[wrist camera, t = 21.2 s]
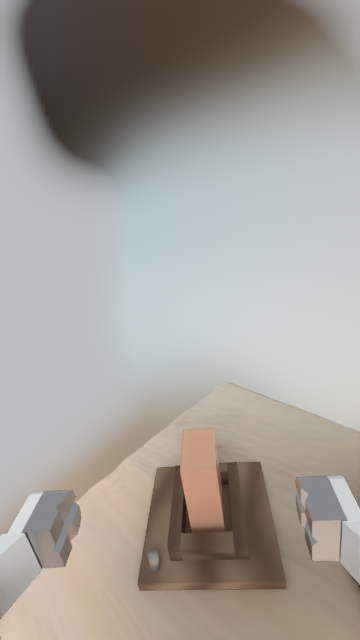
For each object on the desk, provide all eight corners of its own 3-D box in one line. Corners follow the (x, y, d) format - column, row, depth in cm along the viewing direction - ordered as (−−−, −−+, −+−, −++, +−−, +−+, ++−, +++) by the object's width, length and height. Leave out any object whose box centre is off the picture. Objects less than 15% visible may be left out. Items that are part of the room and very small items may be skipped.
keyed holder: (260, 467, 48) (259, 448, 47) (286, 588, 34) (285, 565, 32) (158, 473, 50) (154, 455, 49) (139, 590, 35) (133, 569, 34)
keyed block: (222, 491, 44) (214, 428, 40) (225, 537, 38) (216, 469, 34) (194, 492, 45) (183, 430, 41) (193, 538, 39) (180, 471, 35)
